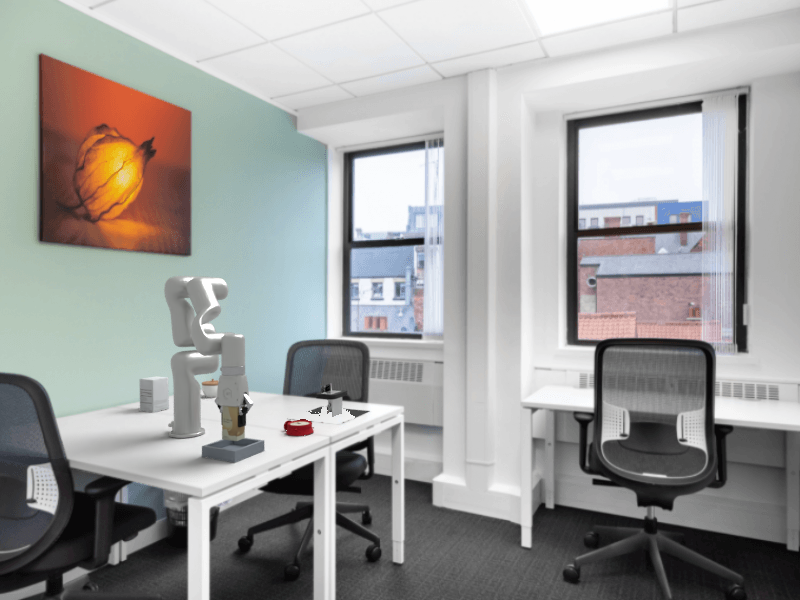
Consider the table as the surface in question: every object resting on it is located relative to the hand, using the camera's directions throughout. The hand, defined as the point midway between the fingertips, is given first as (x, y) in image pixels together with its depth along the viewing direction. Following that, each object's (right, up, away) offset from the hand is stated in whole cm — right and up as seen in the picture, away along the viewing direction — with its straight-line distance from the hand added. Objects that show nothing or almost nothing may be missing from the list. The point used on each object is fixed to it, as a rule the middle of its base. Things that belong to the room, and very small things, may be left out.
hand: (233, 424), depth 174 cm
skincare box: (0, -5, 0) cm, 5 cm away
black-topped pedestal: (+24, -10, +58) cm, 63 cm away
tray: (0, -10, 0) cm, 10 cm away
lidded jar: (-43, -9, +101) cm, 110 cm away
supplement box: (-58, -10, +69) cm, 91 cm away
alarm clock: (+16, -10, +29) cm, 34 cm away
